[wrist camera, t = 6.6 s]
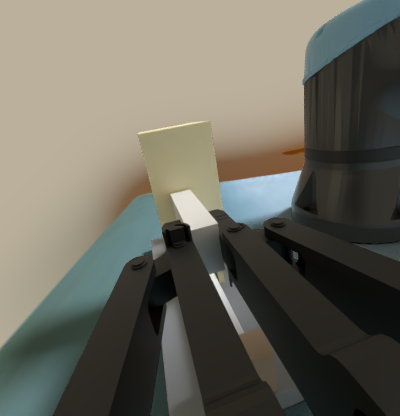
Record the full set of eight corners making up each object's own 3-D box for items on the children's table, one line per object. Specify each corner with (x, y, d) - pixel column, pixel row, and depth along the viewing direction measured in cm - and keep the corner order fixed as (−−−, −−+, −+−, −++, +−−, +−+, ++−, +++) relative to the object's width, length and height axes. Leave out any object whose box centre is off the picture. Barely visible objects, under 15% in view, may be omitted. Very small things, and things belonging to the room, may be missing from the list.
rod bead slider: (153, 249, 32) (144, 216, 30) (214, 232, 34) (209, 200, 32) (177, 454, 12) (154, 394, 10) (326, 390, 14) (329, 327, 12)
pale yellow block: (171, 264, 25) (138, 132, 20) (216, 251, 26) (194, 122, 21) (179, 295, 20) (137, 134, 15) (233, 278, 21) (210, 120, 16)
